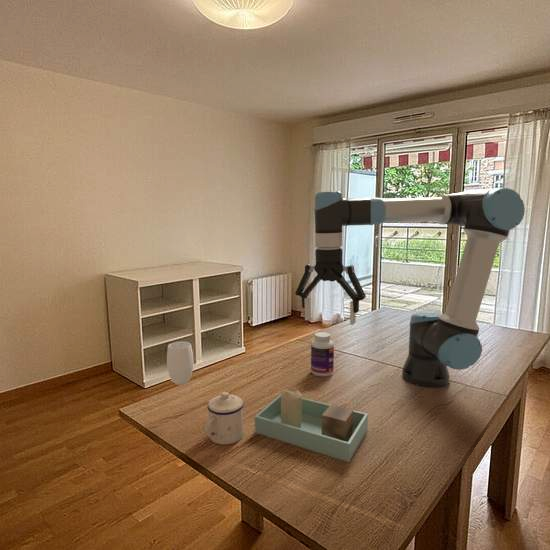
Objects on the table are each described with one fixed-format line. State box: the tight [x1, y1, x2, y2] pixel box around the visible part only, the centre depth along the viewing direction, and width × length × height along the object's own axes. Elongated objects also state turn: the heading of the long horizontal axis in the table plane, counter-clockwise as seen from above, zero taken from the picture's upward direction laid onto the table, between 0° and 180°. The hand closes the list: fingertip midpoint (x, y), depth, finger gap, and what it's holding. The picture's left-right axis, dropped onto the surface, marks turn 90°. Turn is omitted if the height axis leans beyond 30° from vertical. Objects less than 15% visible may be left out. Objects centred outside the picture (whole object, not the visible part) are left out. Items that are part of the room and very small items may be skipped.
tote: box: [254, 393, 369, 463], centre depth 100 cm, size 25×15×5 cm, turn 61°
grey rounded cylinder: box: [166, 341, 195, 386], centre depth 109 cm, size 7×7×21 cm
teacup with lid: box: [203, 391, 244, 446], centre depth 98 cm, size 12×9×12 cm
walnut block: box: [322, 404, 354, 442], centre depth 97 cm, size 6×6×7 cm
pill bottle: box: [310, 331, 335, 378], centre depth 137 cm, size 8×8×14 cm
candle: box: [280, 387, 303, 428], centre depth 103 cm, size 6×6×10 cm
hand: (329, 321), depth 112 cm, fingers open, 13 cm apart
